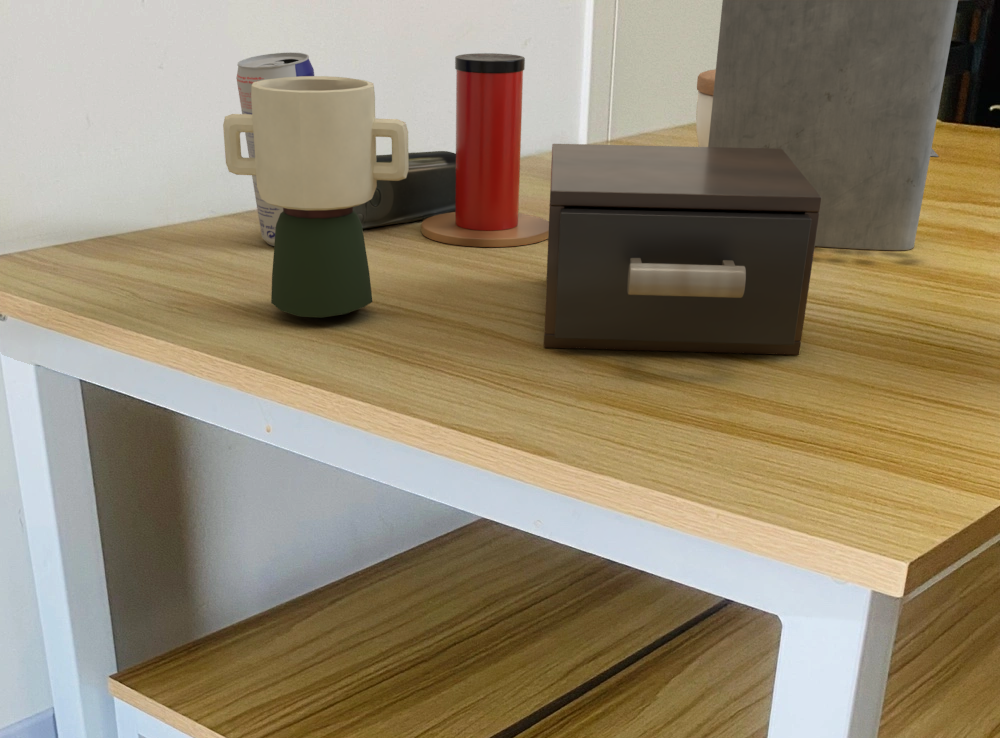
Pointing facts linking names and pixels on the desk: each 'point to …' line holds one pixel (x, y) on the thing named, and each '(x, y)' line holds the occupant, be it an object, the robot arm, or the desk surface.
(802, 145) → the grey upright slab
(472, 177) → the tin
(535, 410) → the desk surface
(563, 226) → the drawer
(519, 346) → the desk surface
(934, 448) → the desk surface
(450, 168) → the dark grey stapler
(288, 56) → the energy drink
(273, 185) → the beige green vessel
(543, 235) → the coaster
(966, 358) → the desk surface
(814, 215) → the cabinet
